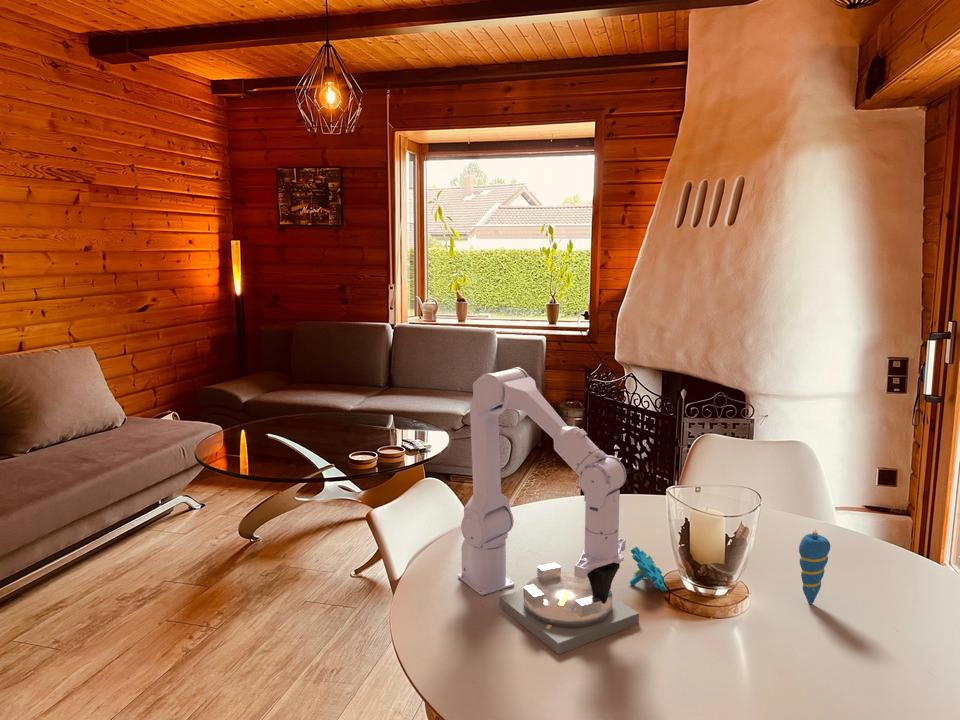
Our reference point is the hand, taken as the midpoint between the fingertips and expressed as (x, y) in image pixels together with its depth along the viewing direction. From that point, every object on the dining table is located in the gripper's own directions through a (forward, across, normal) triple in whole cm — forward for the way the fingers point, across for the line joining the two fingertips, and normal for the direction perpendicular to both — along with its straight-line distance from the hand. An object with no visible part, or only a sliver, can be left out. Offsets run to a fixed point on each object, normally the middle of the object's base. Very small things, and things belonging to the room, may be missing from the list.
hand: (600, 601), depth 120 cm
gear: (+6, +20, 0) cm, 21 cm away
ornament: (+5, +32, -27) cm, 42 cm away
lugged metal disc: (+3, 0, +7) cm, 8 cm away
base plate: (+5, 0, +7) cm, 9 cm away
